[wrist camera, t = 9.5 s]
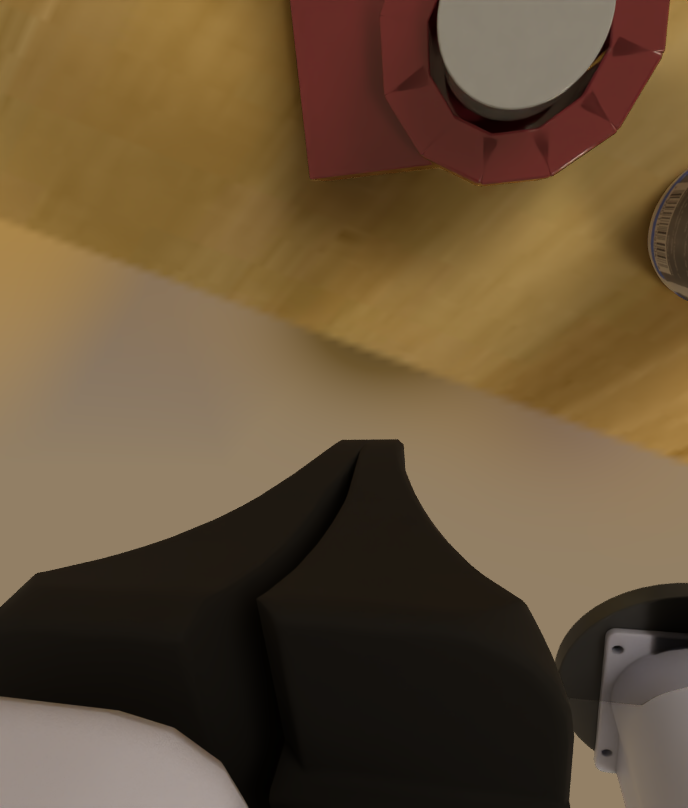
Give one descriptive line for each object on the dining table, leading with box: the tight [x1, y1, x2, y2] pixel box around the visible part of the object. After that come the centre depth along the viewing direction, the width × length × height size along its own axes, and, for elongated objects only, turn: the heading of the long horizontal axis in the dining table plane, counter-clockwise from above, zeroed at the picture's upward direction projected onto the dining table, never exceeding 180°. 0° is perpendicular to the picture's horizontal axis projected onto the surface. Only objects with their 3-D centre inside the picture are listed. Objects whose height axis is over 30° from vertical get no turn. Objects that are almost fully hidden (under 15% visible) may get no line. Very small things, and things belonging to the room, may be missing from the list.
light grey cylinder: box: [437, 0, 616, 121], centre depth 12 cm, size 4×4×2 cm
